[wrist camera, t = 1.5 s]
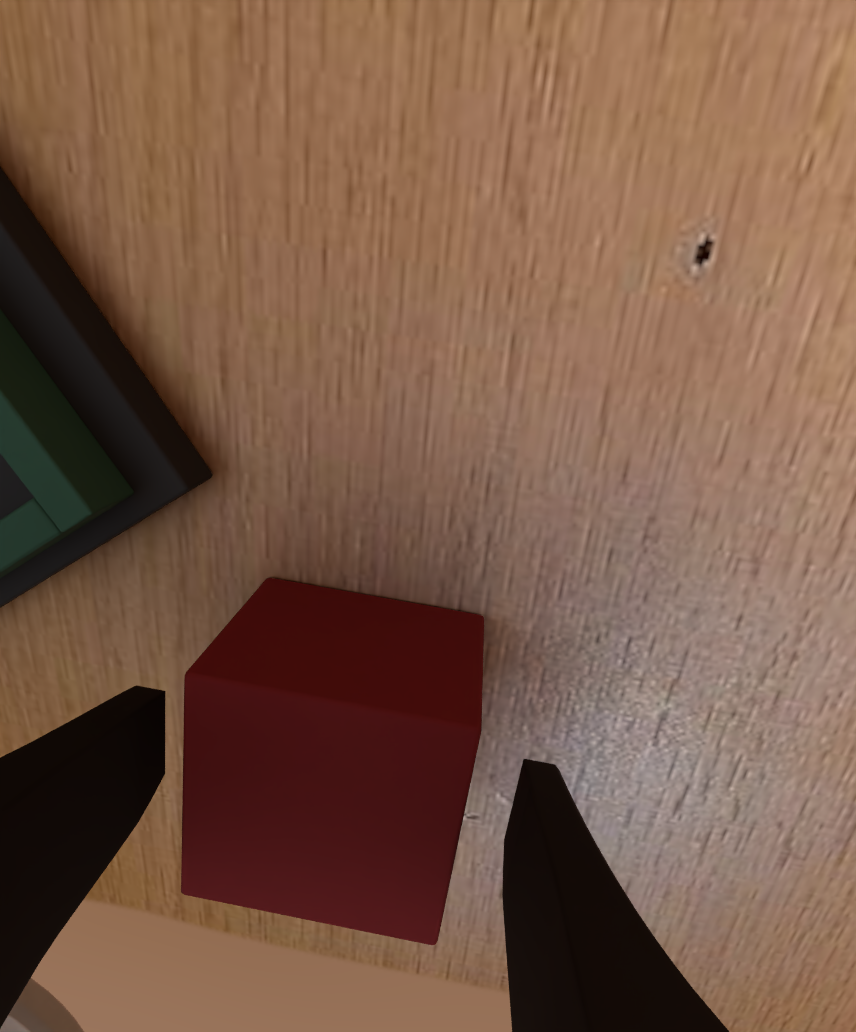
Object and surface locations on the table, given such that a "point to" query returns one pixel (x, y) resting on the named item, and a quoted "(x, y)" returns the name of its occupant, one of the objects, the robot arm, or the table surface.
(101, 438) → the base pad
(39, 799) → the robot arm
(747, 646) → the table surface
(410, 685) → the red cube
